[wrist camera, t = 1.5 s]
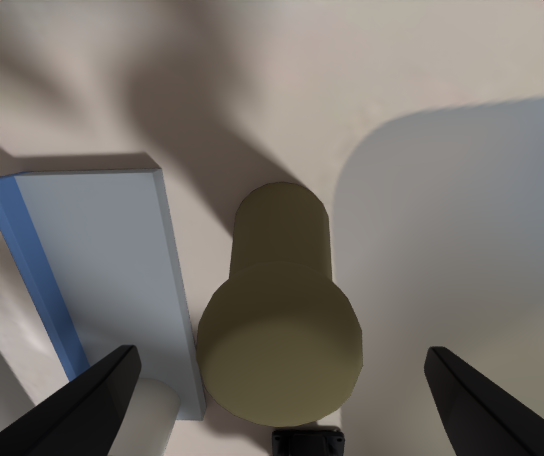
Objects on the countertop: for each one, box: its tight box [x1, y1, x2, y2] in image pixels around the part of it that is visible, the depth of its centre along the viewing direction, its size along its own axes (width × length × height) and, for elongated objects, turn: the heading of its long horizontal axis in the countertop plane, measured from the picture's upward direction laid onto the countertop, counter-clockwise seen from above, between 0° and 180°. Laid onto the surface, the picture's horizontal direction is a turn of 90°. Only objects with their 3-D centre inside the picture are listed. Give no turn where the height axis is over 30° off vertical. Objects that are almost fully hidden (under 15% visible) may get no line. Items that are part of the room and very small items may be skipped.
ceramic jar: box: [107, 378, 181, 456], centre depth 20 cm, size 5×5×6 cm
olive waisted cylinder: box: [196, 182, 363, 427], centre depth 12 cm, size 6×6×11 cm
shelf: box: [0, 169, 206, 421], centre depth 19 cm, size 21×9×2 cm, turn 2°
